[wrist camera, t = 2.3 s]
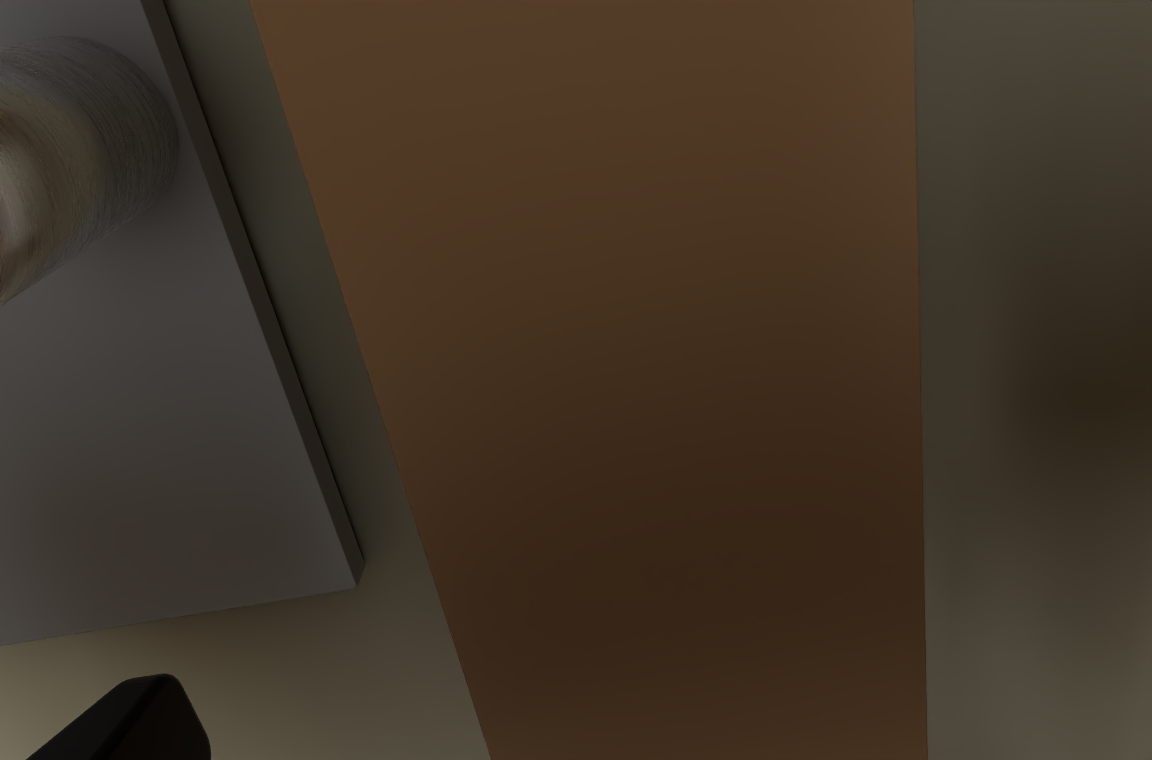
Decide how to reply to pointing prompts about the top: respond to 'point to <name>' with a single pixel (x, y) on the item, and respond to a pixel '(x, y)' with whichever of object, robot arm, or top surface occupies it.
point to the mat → (155, 399)
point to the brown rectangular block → (640, 353)
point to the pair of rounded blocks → (74, 152)
